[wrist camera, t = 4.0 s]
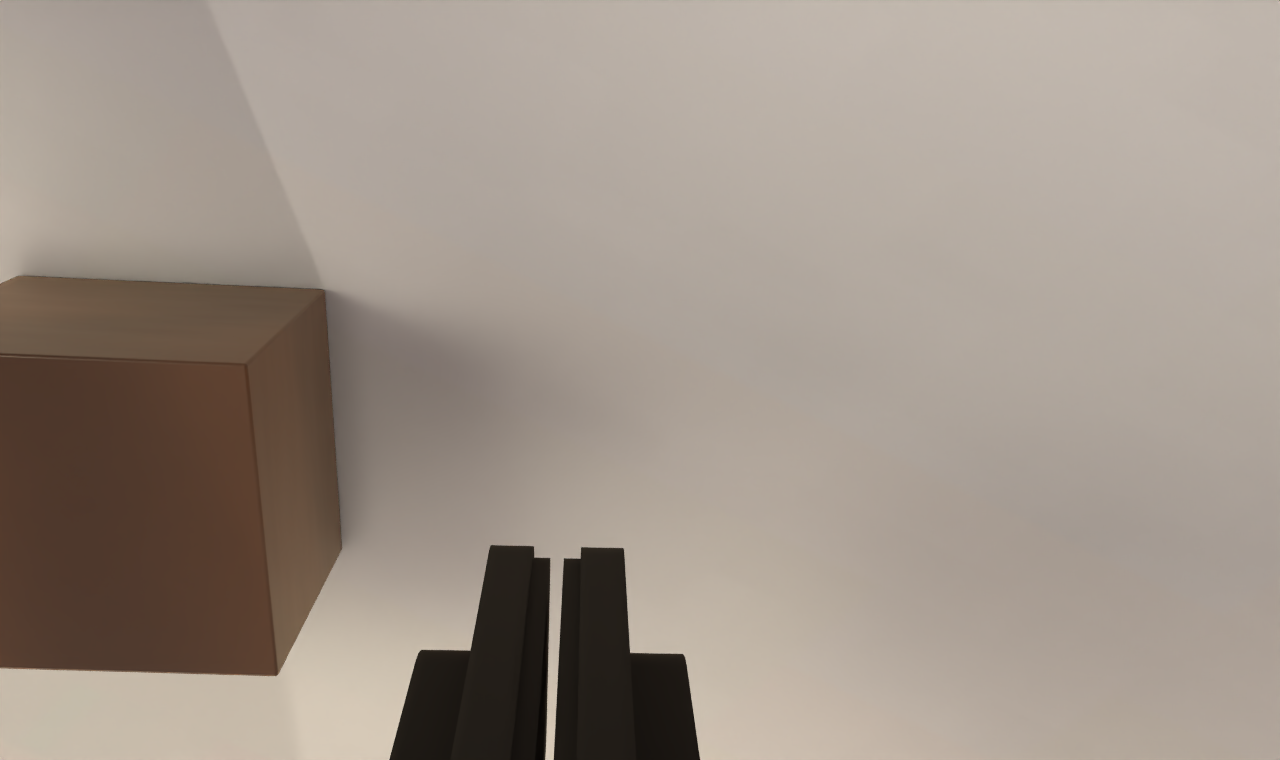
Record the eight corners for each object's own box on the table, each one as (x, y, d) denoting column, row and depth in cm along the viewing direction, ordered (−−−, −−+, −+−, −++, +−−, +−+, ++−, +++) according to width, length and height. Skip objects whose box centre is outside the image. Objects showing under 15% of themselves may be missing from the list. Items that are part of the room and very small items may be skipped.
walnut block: (325, 288, 17) (246, 364, 14) (342, 549, 19) (277, 677, 16) (17, 274, 17) (-148, 347, 13) (66, 540, 19) (-67, 668, 15)
